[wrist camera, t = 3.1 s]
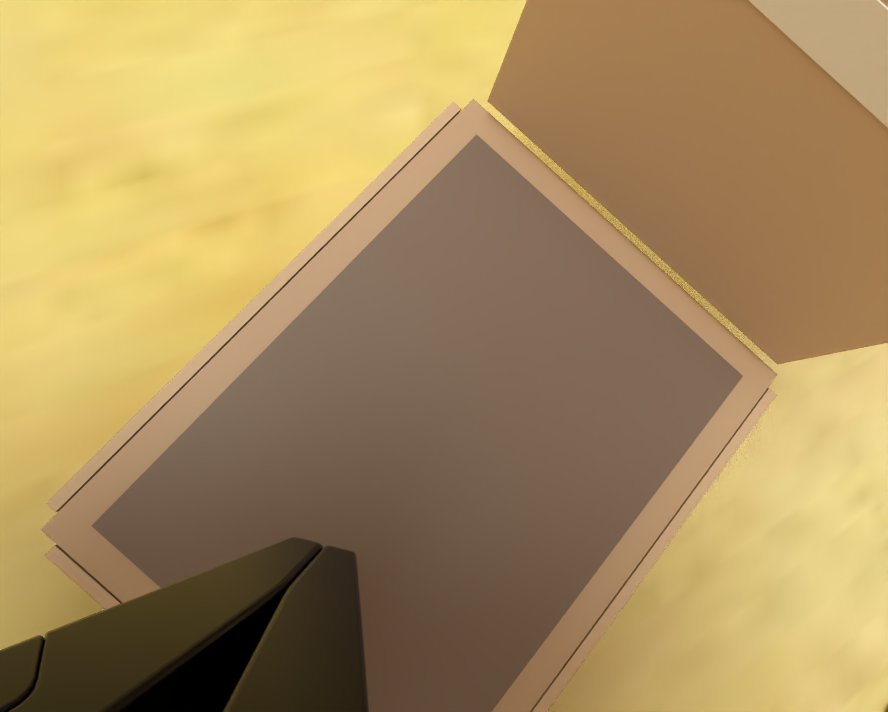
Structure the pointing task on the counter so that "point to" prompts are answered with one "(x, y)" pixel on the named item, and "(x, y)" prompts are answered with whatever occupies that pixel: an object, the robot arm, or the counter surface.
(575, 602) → the carton
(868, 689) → the counter surface
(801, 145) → the flap
